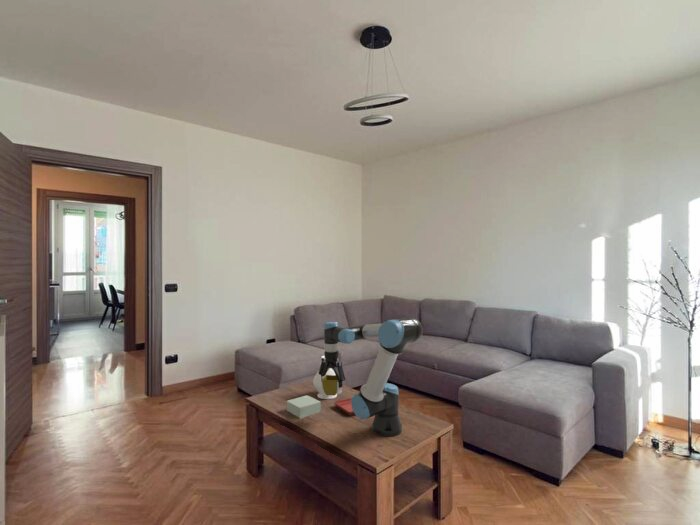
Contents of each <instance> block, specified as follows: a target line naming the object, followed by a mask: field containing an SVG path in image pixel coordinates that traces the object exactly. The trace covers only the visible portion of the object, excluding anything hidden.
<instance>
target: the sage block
mask: <svg viewBox="0 0 700 525" xmlns="http://www.w3.org/2000/svg"><path fill="white" fill-rule="evenodd" d="M286 411H287V412H289V413H290V414H291V415H294V416H295V417H297V418H299V419H303V418H306V417H309V416H312V415H316V414H318V413H321V411H322V402H321V400H318V399H316V398H314V397H312V396H310V395H307V394H306V395H303V396H300V397H296V398H292V399H289V400H287V401H286Z"/></svg>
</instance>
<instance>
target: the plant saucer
mask: <svg viewBox="0 0 700 525" xmlns="http://www.w3.org/2000/svg"><path fill="white" fill-rule="evenodd" d="M351 399H352V397H350V398H345V399H341V400H340V399H339V400H337V401H334V402H333V404H334V405H335V406H336V407H337V408H338V409H339V410H341V411H343V412H344V413H346V415H347V414H348V415H349V416H356V415H355V413H354V412H353V409H352V406H351Z"/></svg>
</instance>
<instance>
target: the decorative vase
mask: <svg viewBox="0 0 700 525" xmlns="http://www.w3.org/2000/svg"><path fill="white" fill-rule="evenodd" d="M320 356H321V355H320ZM322 358H325V354H324V355H322V356H321V360H320V361H319V365H320V366H321V361H322ZM326 375H335V372H334V370H333V369H332V368H329V369H328V371H327V373H326ZM326 375H325V376H326ZM312 383H313V387H314V388H315V390H317V392H318V393H317V396H316V397H317V398H319V399H320V400H321V399H322V400H333V399H336V398H337V397H338V394H337V393H336V395H326V394H325V392H324V390H323V389H322V381H321V375H319V370H318V371H317V372H316V373H315V375H314V377H313V381H312Z"/></svg>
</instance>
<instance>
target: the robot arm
mask: <svg viewBox="0 0 700 525" xmlns="http://www.w3.org/2000/svg"><path fill="white" fill-rule="evenodd" d="M423 331H424V329H423V325H422V323H421V322H420V321H419V320H418V319H417V318H415V317H410V316H409V317H404V318H395V319H394V318H393V319H388V320H386V321H384V322H383V323H374V324H372V323H371V324H360V325H355V326H348V327H339V323H338V322H337V321H327V322H325V323H324V329H323V333H324V334H323V335H324V338H323V340H324V344H323V347H324V348H323V350H324V355H325V358H321V360H322V361H321V360H320V361H321V365H320V367H319V370H318V371H319V375H321V381H322V379H323V378H324V377H325V375H326V373H327V371H328V369H329V368H332V369H333V370H334V372H335V375H336V377H337V379H338V381H337V393H336V394H337V395H339V394H342V393H343V392H342V390H343V381H346V377H345V372H344V369H343V366H342V365H343V362H342V361H338V358H339V351H338V350H339V343H341V344H345V345H346V344H349V345H350V344H352V343H353V342H355V341H360V340H374V339H378V341H379V342H378V343H379V346H380V348H379V351H378V353H377V355H376V358H375V361H374V363H373V365H372V367H371V371H370V372H369V375H368V378H367V381H366V383H364V384H362V385H361V387H360V389H359V392H358V393H356V394H354V395H352V397H351V398H352V399H351V406H352V409H353V412H354V413H355V415H354V416H356V417H357V418H358V419H360V420H364V419H369V418H371V417H373V421H372V424H371V426H372V427H371V430H372V432H373V433H374V434H376V435H379V436H382V437H394V436H398V435H400V434H401V433H402V431H403V425H402V423H401V419H400V416H399V405H400V403H399V400H400V398H399V397H400V396H399V395H400V394H399V387H398V386H397V385H395V384H393V383H389V382H388V379H389V378H390V375H391V372H392V369H393V368H394V365H395V364H396V361H397V358H398V356H399V355H402V354H403V353H404V352H405V348H406V346H407V345H408V344H412V343H415V342H417V341H419V340H420V339H421V338H422V336H423ZM322 389H323V385H322Z"/></svg>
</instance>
